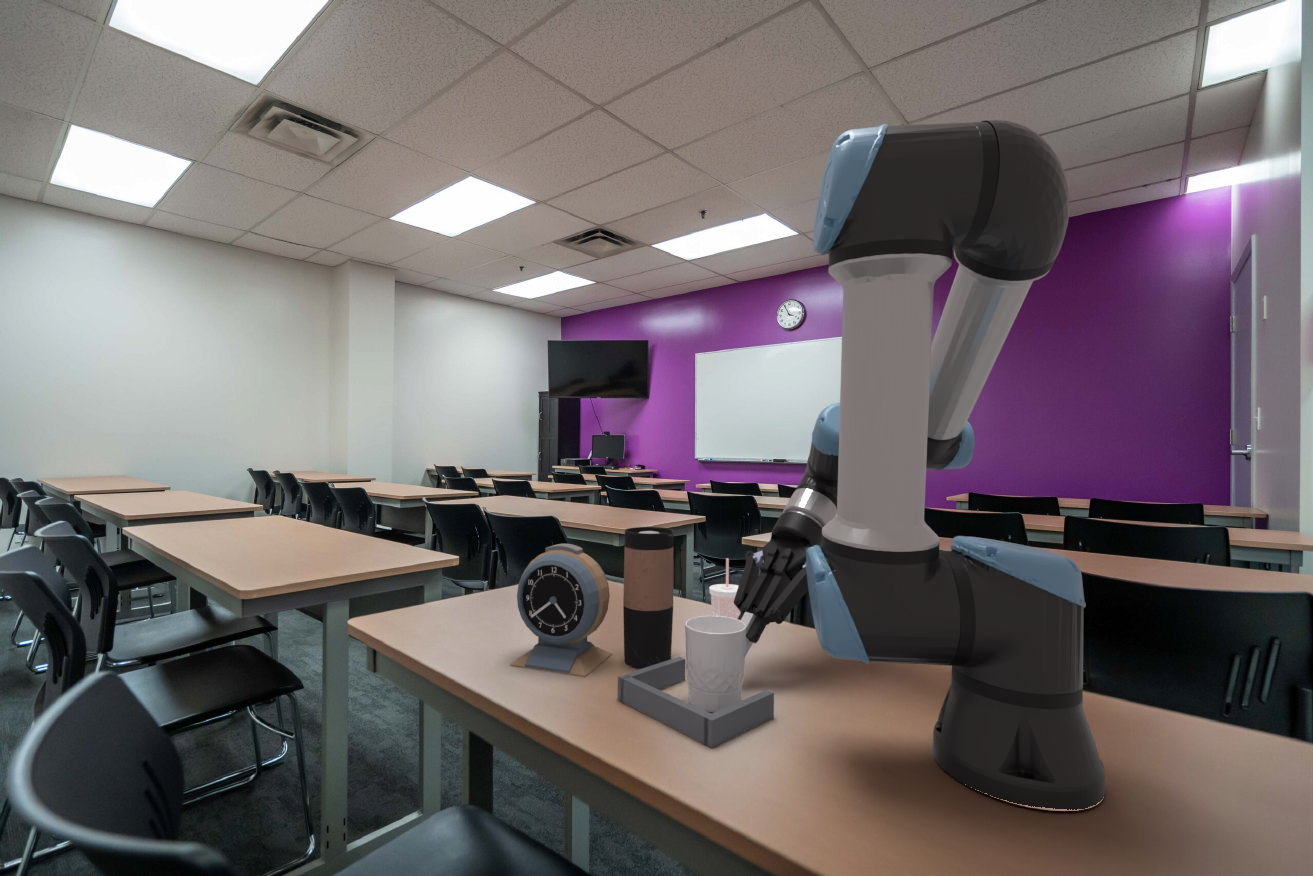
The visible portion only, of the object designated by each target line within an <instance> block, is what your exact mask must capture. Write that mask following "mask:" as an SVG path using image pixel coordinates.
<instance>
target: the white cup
mask: <svg viewBox="0 0 1313 876" xmlns="http://www.w3.org/2000/svg"><path fill="white" fill-rule="evenodd" d="M684 629H685V632H684V633H685V635H684V636H685V667H686V678H687V679H686V680H687V684H688V686H687V687H688V703H689V704H691V705H694V706H696V707H698V708H700V709H702V710H705V711H707V712H709V713H714V712H716V711H718V710H721V709H723V708H725V707H728V706H730V705H732V704H735V703H737V702H739V701H741V700H743V699H742V695H743V681H744V674H745V672H744V668H745V661H746V660H745V659H746V657H745V644H746V624H745V623H744V622H743V621H741V620H738V619H735V618H731V617H725V616H712V615H701V616H700V615H699V616H694V617H691V618H689V619H687V620H686V621H685V623H684Z"/></svg>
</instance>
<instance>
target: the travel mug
mask: <svg viewBox="0 0 1313 876" xmlns="http://www.w3.org/2000/svg"><path fill="white" fill-rule="evenodd" d="M674 535H675V533H674V530H673V529H672V528H668V527H660V526H659V527H658V526H657V527H656V526H634V527H628V528H626V529H625V531H624V557H623V558H624V560H623V561H624V563H623V564H624V565H623V568H624V569H623V596H622V597H623V598H622V599H623V603H622V604H623V607H622V609H623V611H622V612H623V655H624V663H625V664H626V665H627V666H629V667H631V668H634V669H637V670H639V669H643V668H646V667H649V666H652V665H655V664H658V663H661V662H664V661H667V660H670V659H672V642H673V638H672V637H673V623H674V622H673V619H674V618H673V616H674Z"/></svg>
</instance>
